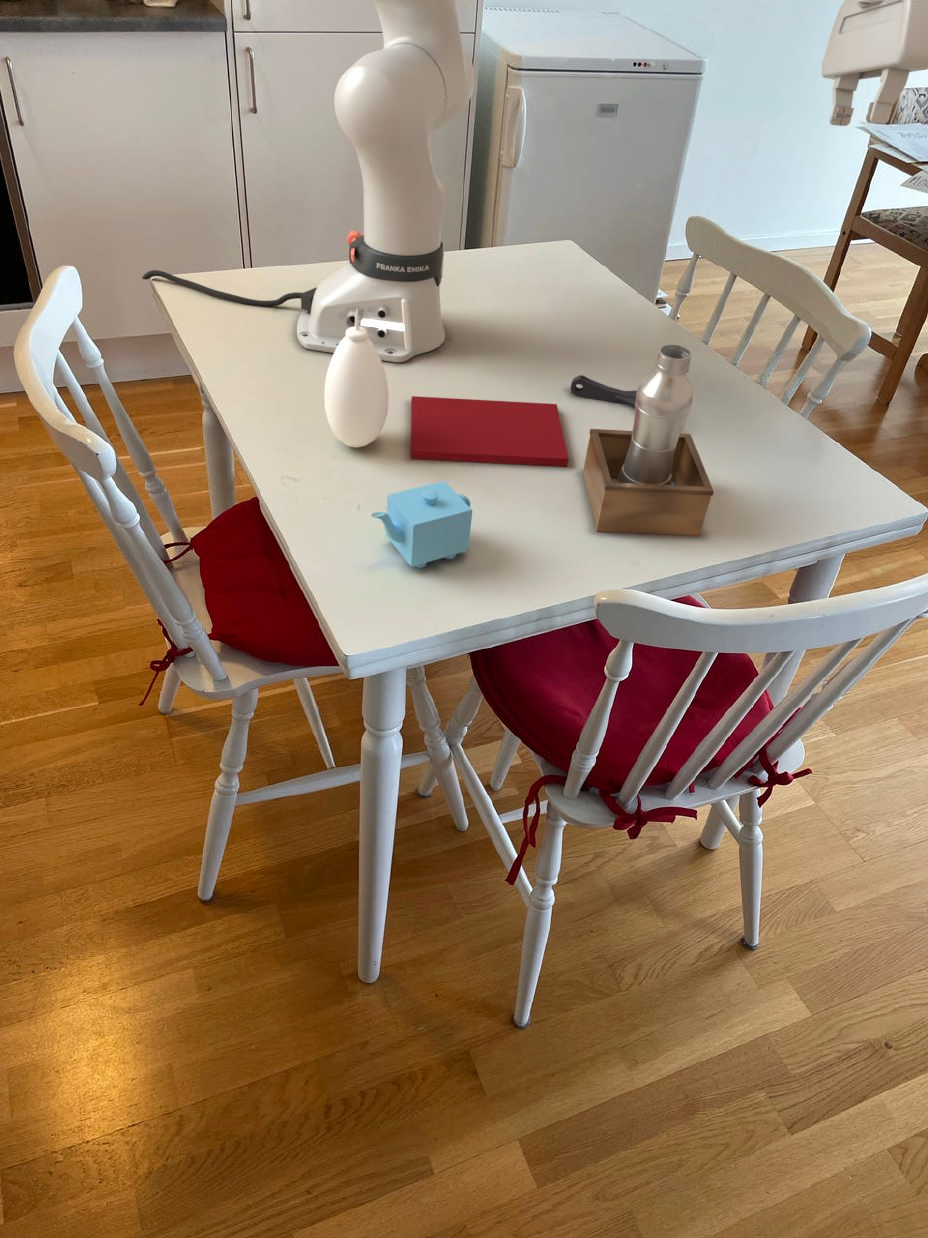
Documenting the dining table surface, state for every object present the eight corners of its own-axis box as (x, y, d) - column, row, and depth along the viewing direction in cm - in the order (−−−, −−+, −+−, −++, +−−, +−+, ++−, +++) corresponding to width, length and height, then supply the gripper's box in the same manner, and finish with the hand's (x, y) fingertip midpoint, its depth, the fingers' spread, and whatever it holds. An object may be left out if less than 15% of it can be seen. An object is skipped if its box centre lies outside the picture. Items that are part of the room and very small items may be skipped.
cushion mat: (410, 459, 121) (411, 450, 120) (411, 403, 131) (411, 395, 131) (567, 466, 123) (568, 458, 122) (555, 411, 133) (556, 403, 132)
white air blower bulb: (318, 431, 124) (315, 297, 112) (376, 424, 126) (379, 292, 115) (334, 463, 119) (333, 326, 107) (394, 455, 121) (399, 320, 109)
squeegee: (574, 370, 143) (577, 353, 141) (674, 386, 141) (678, 369, 140) (564, 418, 132) (567, 400, 130) (672, 435, 131) (676, 417, 129)
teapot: (382, 581, 102) (384, 524, 97) (358, 549, 106) (359, 493, 101) (479, 553, 107) (485, 498, 102) (452, 524, 111) (457, 469, 106)
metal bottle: (673, 499, 119) (714, 349, 106) (652, 525, 114) (692, 372, 101) (625, 482, 121) (659, 332, 108) (603, 506, 116) (636, 353, 103)
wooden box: (595, 531, 112) (605, 486, 108) (581, 472, 122) (590, 428, 118) (700, 536, 113) (714, 491, 109) (678, 477, 123) (690, 433, 119)
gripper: (828, -22, 103) (792, 121, 109) (918, -58, 85) (868, 116, 91) (884, -12, 104) (845, 130, 110) (985, -46, 86) (931, 127, 92)
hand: (856, 124), depth 100 cm, fingers open, 8 cm apart
